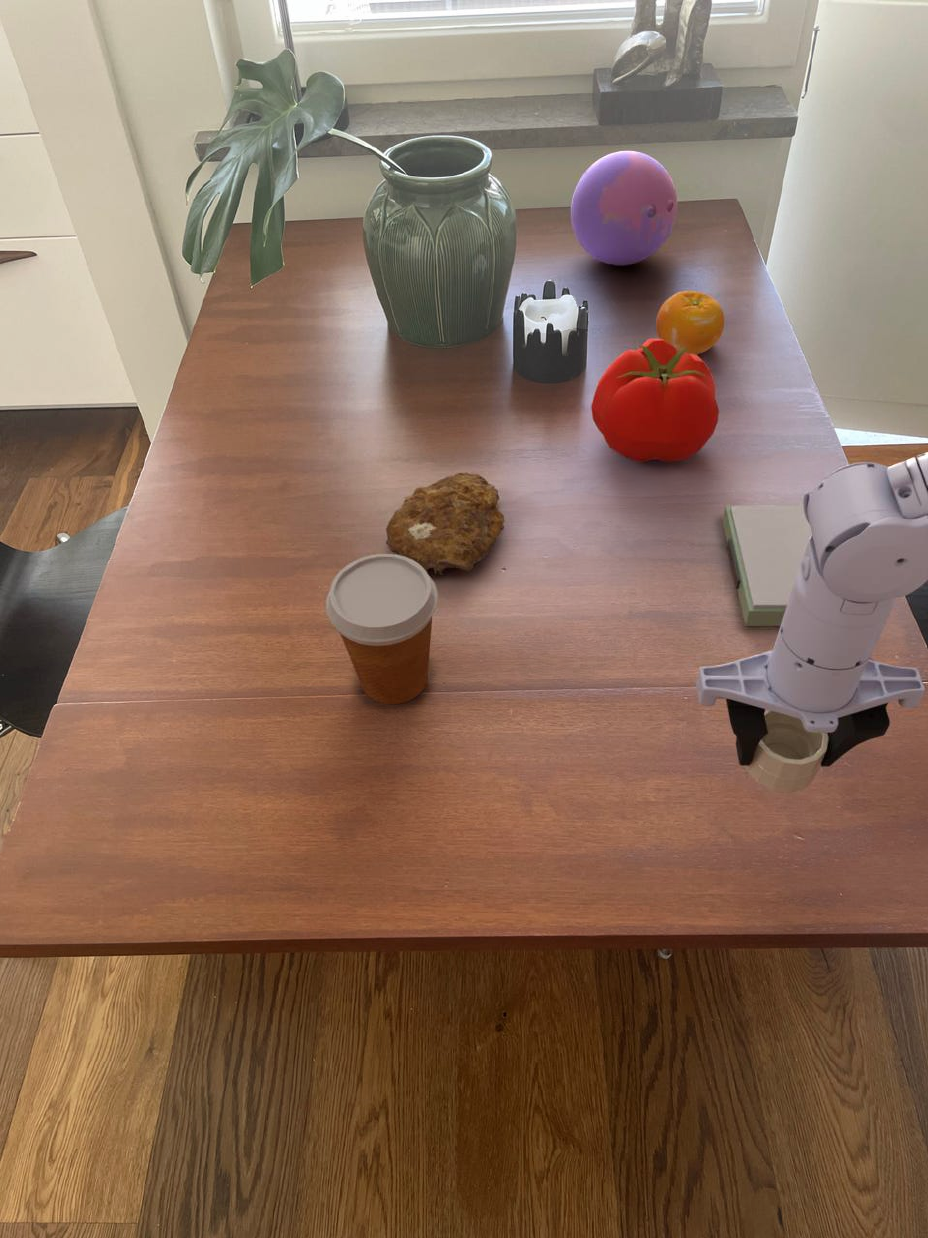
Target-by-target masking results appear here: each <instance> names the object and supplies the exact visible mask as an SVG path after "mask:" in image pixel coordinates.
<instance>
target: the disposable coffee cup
mask: <svg viewBox="0 0 928 1238" xmlns="http://www.w3.org/2000/svg"><path fill="white" fill-rule="evenodd" d="M325 600H326V601H325V609H326V615H327V617H328V620H329V621H330V623H331V625H332V626H333V627H334V628H335V629H336V630H337V631H338V632H339V634H340V638H341V640H342V642H343V644H344V647H345V649H346V651H347V653H348V656H349V660H350V661H351V664H352V666H353V668H354V671H355V673H356V676H357V677H358V680H359V683H360V685H361V688H362V689H363V691H364V693H365V694H366V696H367V697H369V698H370V699H372V701H376V702H378V703H381V704H384V705H385V704H386V705H399V704H403V703H406V702H408V701H411V700H413V699H415V698H416V697H418V696H419V695H420V694H421V693H422V691H423V690H424V689H425V688H426V685H427V684H428V679H429V667H430V656H431V655H430V652H431V640H432V627H433V626H432V625H433V616H434V614H435V612H436V610H437V606H438V600H439V596H438V589H437V586H436V583H435V582H434V580H433V579H432V577H431V576H430V575H429V573H428V574H427V572H426V571H425V570H424V568H423V567H422V566H421V565H419V564H418V563H417V562H415V561H414V560H412V559H409V558H407V557H404V556H400V555H397V554H395V553H394V554H392V553H377V554H371V555H366V556H363V557H360V558H358V559H356V560H354V561H352V562H350V563H348V564H347V565H345V566H344V567H343V568H342V569H340V570H339V571H338V573H337V574H336V575H335V576H334V578H333V580H332V581H331V584H330V589H329V591H328V594H327V596H326V599H325Z"/></svg>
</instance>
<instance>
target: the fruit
mask: <svg viewBox="0 0 928 1238" xmlns="http://www.w3.org/2000/svg"><path fill="white" fill-rule="evenodd" d="M724 313H725V312H724V310H723V308H722V306H721V304H720V303H719V302H718V301H717V300H716V299H715V298H714V297H712V296H711V295H708V294H707V293H705V292H701V291H695V290H682V291H679V292H677V293H674V294H672V295H671V296H670V297H668V298H667V299H666V300H665V301H664V302H663V304H662V305H661V306H660V309H659V310H658V313H657V316H656V321H655V330H656V334H657V336H658V337H657V338H658V339H663V340H665V341H666V342H667V343H669V344H670V345H672V346H673V347H675V348H676V350H677V352H679V351H680V350H683V349H685V348H687V347H689V348H688V349H687V350H686V351H684V352H683V354H688V353H690V354H695V355H701V354H703V353H705V352H707V351H709V349H711V348H712V347H714V346H715V345H716V344H717V343H718V342H719V340H720V339H721V337H722V336H723V332H724V328H725V314H724Z"/></svg>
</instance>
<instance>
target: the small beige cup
mask: <svg viewBox="0 0 928 1238" xmlns="http://www.w3.org/2000/svg"><path fill="white" fill-rule="evenodd" d="M764 715H765V720H766V725H767V729H768V734H767V735H765V736H764V737H763V738H762V739H761V741H760V742H759V744H758V745H757V747H756V750H755V754H754V757H753V761H752V763H751V764H750V765H749V766H746V765H744V766H745V770H746V771H747V773H748V775H749V776H750V777H751V778H752V779H753V780H754V781H755V783H756V784H758V785H760V786H762V787H764V788H766V789H768V790H770V791H771V792H772V791H773V793H781V794H783V793H784V794H785V793H786V794H792V793H796V792H800V791H802V790H805V789H806V788H807V787H808V786H809V785H810V784H811V783H812V782H813V781H814V780H815V777H816V775H817V773H818V771H819V769H820V767H821V762H822V760H823V757H824V755H825V753H826V750H827V745H828V740H829V737H828V734H827V733H813V732H808V731H807V730H805V728H804V726H803V723H802V721H801V720H800V719H799V718H795V717H792V716H788V715H785V714H781V713H778V712H774V711H770V710H767V709H765V712H764Z"/></svg>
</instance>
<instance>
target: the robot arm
mask: <svg viewBox="0 0 928 1238" xmlns="http://www.w3.org/2000/svg"><path fill="white" fill-rule="evenodd" d="M802 505H803V508H804V513H805V516H806V519H807V521H808V523H809V524H810V527H811V531H812V536H811V537H810V538H809V541H808V544H807V547H806V550H805V553H804V556H803V559H802V563H801V566H800V568H799V570H798V572H797V575H796V578H795V582H794V585H793V588H792V591H791V594H790V597H789V601H788V604H787V607H786V610H785V613H784V616H783V620H782V623H781V626H779V630H778V633H777V636H776V639H775V643H774V646H773V649H772V650H768V651H765V652H761V653H759V654H755V655H752V656H747V657H745V658H741V659H738V660H735V661H730V662H727V663H723V664H719V665H707V666H699V668H698V672H697V677H696V682H695V687H696V694H697V700H698V705H699V706H700V707H713V706H715V705H716V701H717V699H722V700H724V699H725V701H726V702H725V703H726V706H727V713H728V718H729V723H730V726H731V729H732V732H733V734H734V735H735V737H736V738H735V748H736V754H737V758H738V764H739V766H745V765H746V766H749V765H750V764H751V763H752V761H753V757H754V754H755V750H756V747H757V745H758V744H759V742H760V741H761V739H762V738H763V737H764V736H765V735H767V734H768V729H767V725H766V720H765V715H764V712H765V709H767V710H770V711H774V712H778V713H781V714H785V715H788V716H792V717H795V718H799V719H800V720H801V721H802V723H803V726H804V728H805V730H807V731H808V732H813V733H827V734H828V737H829V740H828V745H827V750H826V753H825V755H824V757H823V760H822V762H821V764H820V767H827V768H828V767H831V766H832V765H833V764H834V763H836V762H837V761H838V760H840V758H842V757H843V756H844V755H845V754H846V753H848V752H849V751H851V750H852V749H853V748H855V747H857V746H858V745H860V744H863V743H864V742H867V741H870V740H872V739H875V738H879V737H884V736H885V735H886V733H887V731H888V729H889V728H890V724H891V721H890V716H889V714H888V711H887V708H888V707H887V706H888V704H889V703H891V702H895V701H898V704H899V706H900V707H902V708H909V709H911V708H913V709H915V708H917V707H918V706H919V704H920V702H921V700H922V698H923V696H924V694H925V693H926V687H925V686H924V685H925V684H924V682H923V680H922V676H921V674H920V671H919V668H917V667H908V666H907V667H906V666H897V665H893V664H888V663H884V662H879V661H876V660H872V659H871V657H872V655H873V652H874V650H875V648H876V645H877V643H878V641H879V639H880V636H881V634H882V632H883V629H884V628H885V625H886V623H887V620H888V618H889V616H890V614H891V611H892V609H893V606H894V605H895V602H896V599H897V598H902V597H906V596H907V595H910V594H911V593H913V592H915V591H916V590H918V589H919V588H921V587H922V586H923V585H924V584H925V583H927V582H928V451H927V452H924V453H922V454H918V455H917V456H913V457H910V458H908V459H905V460H903V461H900V462H898V463H895V464H892V465H890V466H889V465H886V464H885V465H884V464H882V463H878V462H872V461H869V462H867V461H861V462H854V463H850V464H847V465H844V466H842V467H839V468H837V469H835V470H833V471H832V472H830V473H829V474H827V476H825V477H824V478H823V480H821V482H820V483H819V484H818V486H816V487H815V488H814V490H813V491H807V492H805V493H804V495H803V499H802ZM746 766H745V767H746Z"/></svg>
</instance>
